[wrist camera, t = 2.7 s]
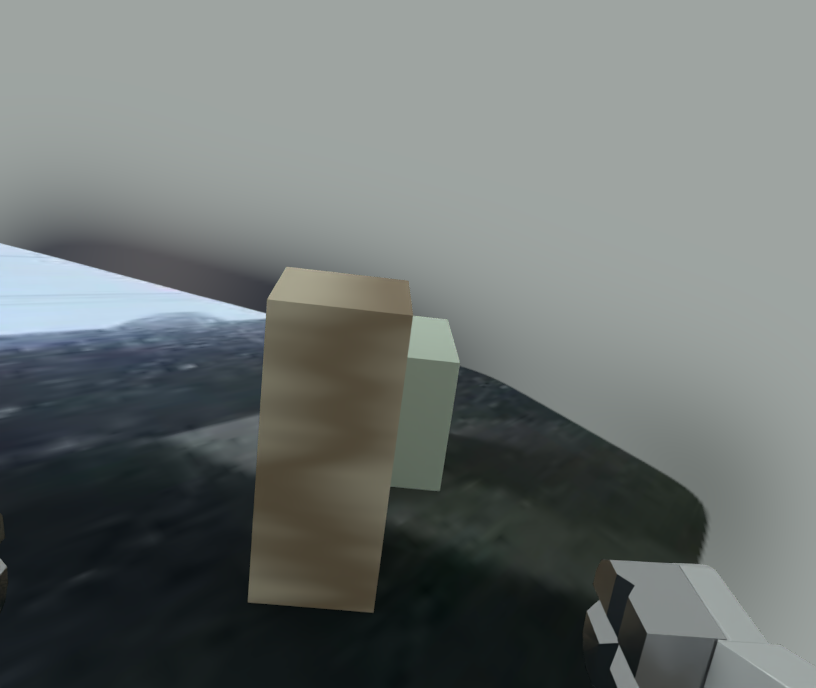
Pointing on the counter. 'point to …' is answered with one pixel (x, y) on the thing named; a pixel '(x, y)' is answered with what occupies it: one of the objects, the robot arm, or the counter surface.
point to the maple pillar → (327, 437)
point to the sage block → (426, 405)
